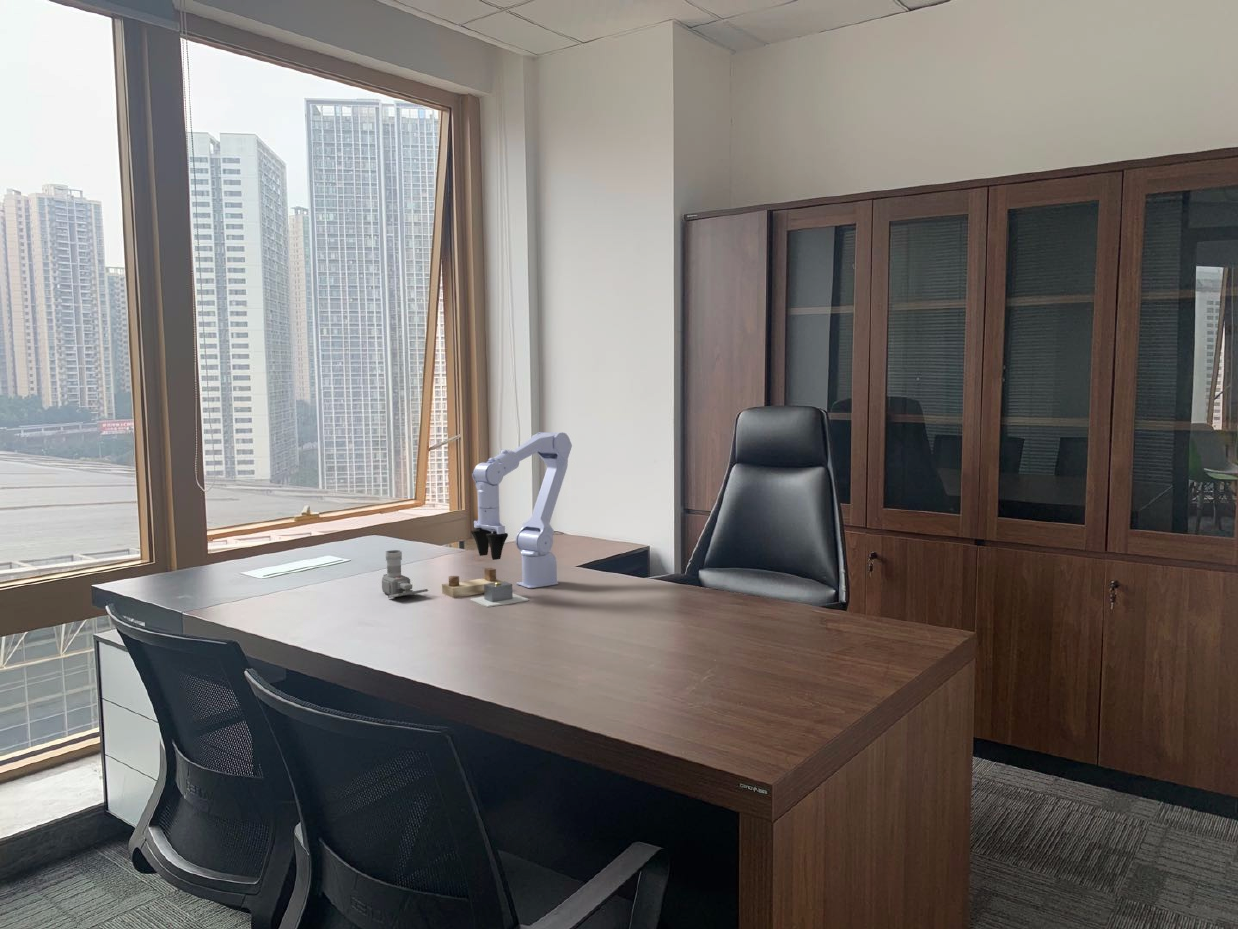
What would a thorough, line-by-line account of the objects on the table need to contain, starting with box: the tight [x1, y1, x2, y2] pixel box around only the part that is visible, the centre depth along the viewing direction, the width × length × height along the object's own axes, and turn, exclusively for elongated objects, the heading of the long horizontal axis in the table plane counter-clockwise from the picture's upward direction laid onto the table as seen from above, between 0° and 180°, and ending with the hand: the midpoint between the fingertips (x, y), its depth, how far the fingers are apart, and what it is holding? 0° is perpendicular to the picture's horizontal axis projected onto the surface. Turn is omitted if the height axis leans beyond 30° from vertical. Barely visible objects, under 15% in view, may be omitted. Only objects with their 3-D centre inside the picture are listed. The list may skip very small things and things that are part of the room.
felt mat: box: [470, 592, 529, 608], centre depth 246 cm, size 12×10×1 cm
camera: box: [381, 549, 429, 599], centre depth 253 cm, size 9×12×15 cm
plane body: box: [441, 567, 503, 599], centre depth 257 cm, size 15×7×6 cm, turn 125°
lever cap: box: [483, 581, 514, 602], centre depth 246 cm, size 6×4×4 cm
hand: (489, 557), depth 252 cm, fingers open, 7 cm apart
